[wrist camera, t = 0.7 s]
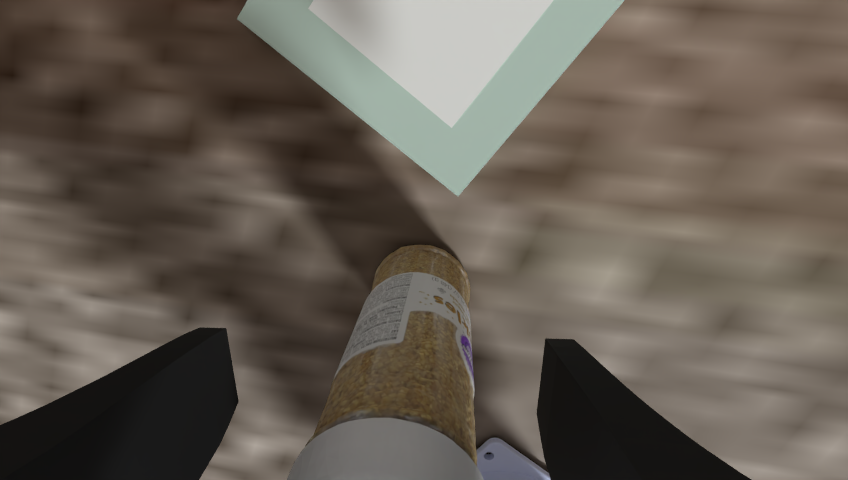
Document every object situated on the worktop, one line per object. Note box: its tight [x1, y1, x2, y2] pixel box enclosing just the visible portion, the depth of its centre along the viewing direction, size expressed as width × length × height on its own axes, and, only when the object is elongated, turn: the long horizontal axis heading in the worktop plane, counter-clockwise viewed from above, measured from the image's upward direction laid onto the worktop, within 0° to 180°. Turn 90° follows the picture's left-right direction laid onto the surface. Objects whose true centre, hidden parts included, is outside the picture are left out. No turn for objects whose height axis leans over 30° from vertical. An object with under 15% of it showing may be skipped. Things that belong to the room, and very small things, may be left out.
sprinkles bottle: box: [287, 245, 484, 480], centre depth 15 cm, size 5×5×14 cm
